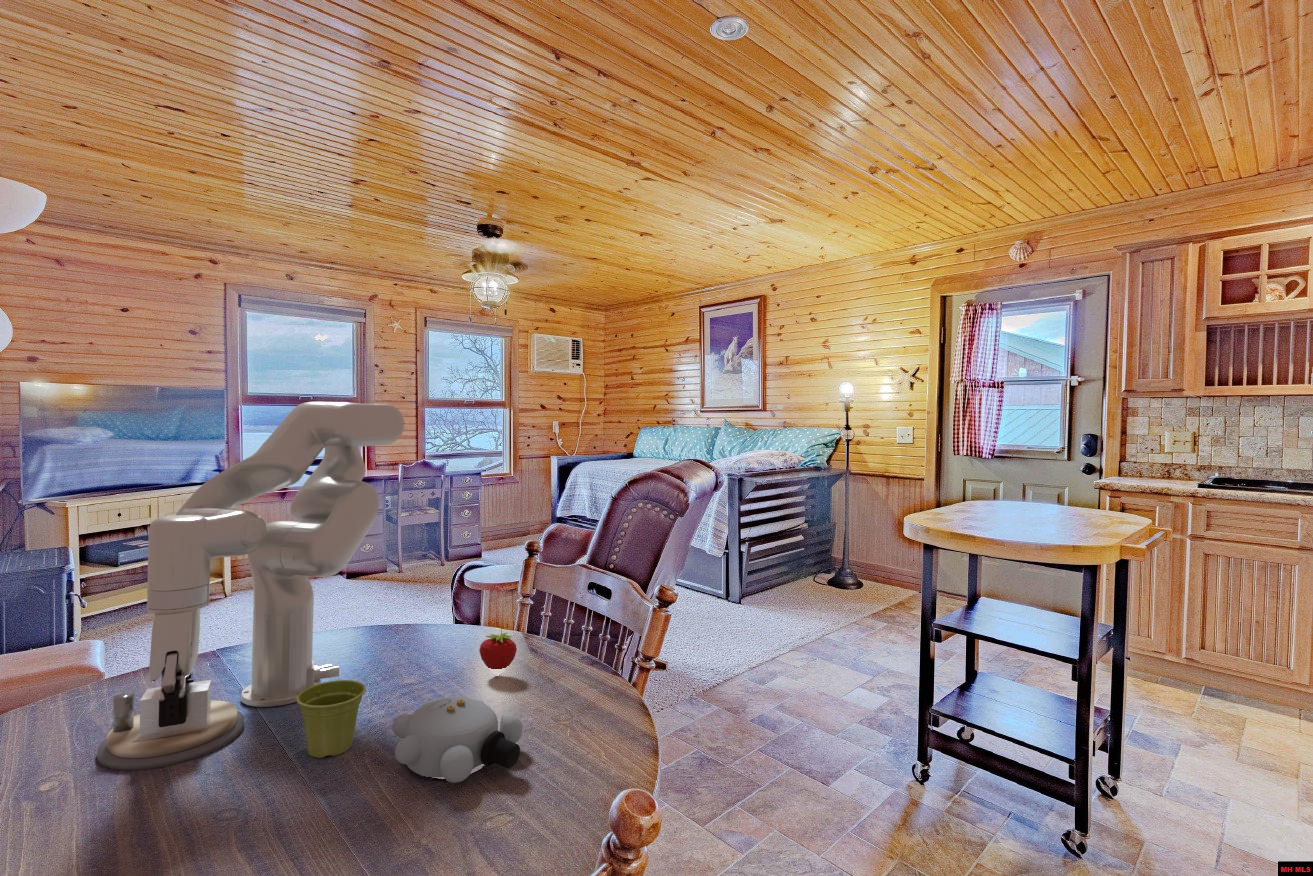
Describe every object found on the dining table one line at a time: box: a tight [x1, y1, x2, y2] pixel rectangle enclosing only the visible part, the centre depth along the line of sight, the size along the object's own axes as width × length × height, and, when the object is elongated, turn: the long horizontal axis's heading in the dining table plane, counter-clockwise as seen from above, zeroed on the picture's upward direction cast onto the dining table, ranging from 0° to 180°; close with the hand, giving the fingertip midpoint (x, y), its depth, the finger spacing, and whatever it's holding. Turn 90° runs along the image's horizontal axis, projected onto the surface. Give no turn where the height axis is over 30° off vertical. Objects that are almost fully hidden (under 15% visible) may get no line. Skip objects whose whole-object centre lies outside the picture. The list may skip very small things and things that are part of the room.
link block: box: [139, 679, 212, 741], centre depth 94 cm, size 4×8×6 cm, turn 120°
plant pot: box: [296, 679, 367, 759], centre depth 94 cm, size 9×9×9 cm
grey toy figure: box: [391, 696, 523, 784], centre depth 92 cm, size 17×8×20 cm
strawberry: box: [478, 625, 517, 669], centre depth 124 cm, size 6×8×10 cm
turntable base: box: [96, 710, 245, 771], centre depth 97 cm, size 18×20×3 cm
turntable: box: [106, 692, 238, 758], centre depth 96 cm, size 16×16×6 cm
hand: (176, 714), depth 94 cm, fingers open, 5 cm apart
